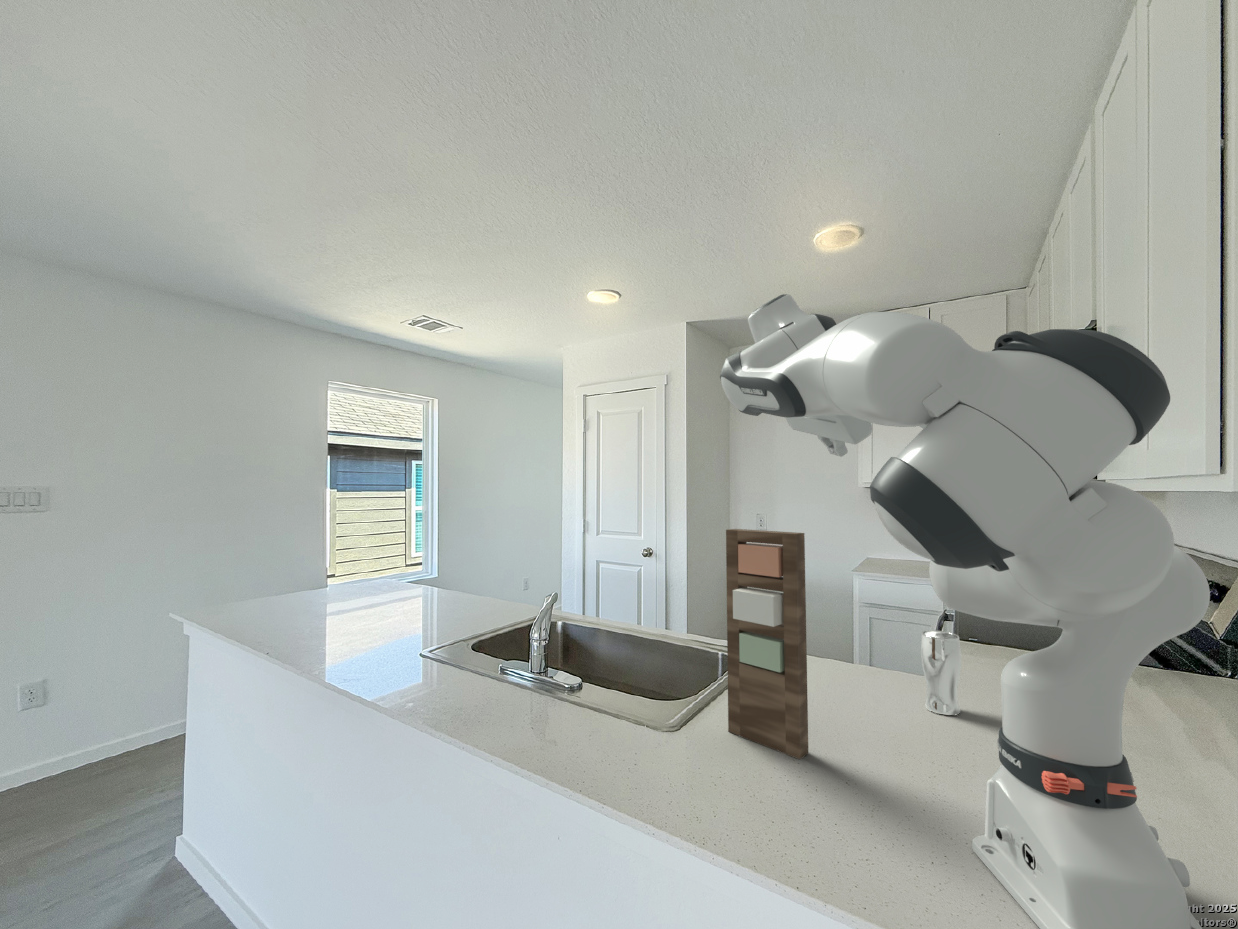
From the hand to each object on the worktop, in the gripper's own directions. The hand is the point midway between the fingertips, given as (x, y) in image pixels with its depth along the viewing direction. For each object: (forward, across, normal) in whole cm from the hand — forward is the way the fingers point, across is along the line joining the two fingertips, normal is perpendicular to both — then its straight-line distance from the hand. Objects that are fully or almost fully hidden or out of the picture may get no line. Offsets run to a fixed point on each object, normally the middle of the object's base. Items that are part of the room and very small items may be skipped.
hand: (839, 453), depth 94 cm
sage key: (+24, +4, -32) cm, 40 cm away
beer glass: (+59, +3, -6) cm, 59 cm away
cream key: (+16, +3, -28) cm, 33 cm away
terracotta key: (+11, 0, -23) cm, 25 cm away
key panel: (+34, +7, -39) cm, 53 cm away
